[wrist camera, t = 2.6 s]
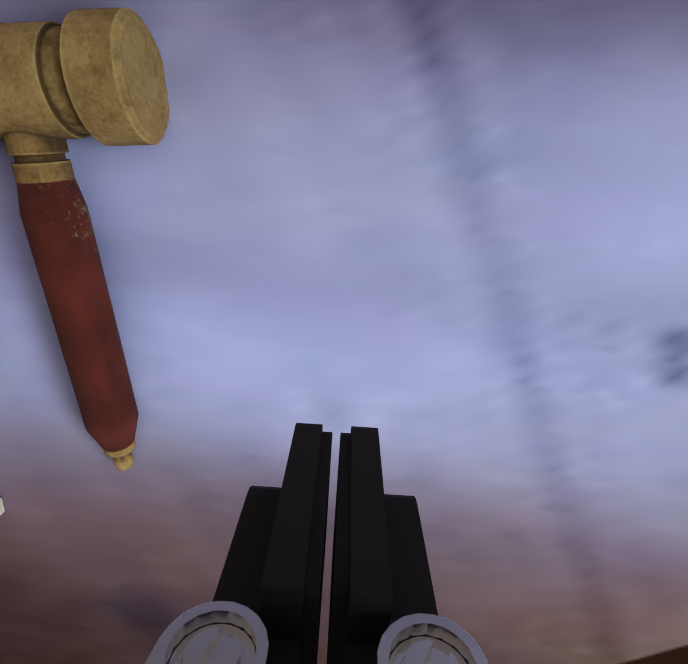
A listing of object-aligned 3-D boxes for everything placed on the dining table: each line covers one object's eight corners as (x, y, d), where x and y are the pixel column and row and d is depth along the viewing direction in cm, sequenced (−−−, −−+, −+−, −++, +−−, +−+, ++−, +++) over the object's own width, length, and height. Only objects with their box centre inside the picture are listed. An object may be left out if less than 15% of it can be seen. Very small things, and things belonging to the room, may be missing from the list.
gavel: (202, 498, 24) (9, 498, 24) (226, 441, 28) (60, 442, 28) (103, -7, 15) (-197, 6, 15) (159, 20, 19) (-79, 29, 20)
